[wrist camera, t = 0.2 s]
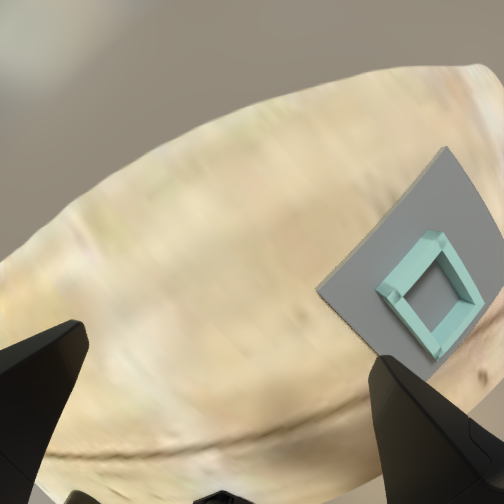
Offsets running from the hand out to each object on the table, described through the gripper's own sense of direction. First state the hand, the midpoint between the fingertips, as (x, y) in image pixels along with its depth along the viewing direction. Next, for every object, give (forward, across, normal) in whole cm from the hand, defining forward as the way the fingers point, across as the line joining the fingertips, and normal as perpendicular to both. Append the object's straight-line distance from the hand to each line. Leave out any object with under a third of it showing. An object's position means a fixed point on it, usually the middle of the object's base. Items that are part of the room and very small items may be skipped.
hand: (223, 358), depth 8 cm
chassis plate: (+15, -18, +3) cm, 23 cm away
